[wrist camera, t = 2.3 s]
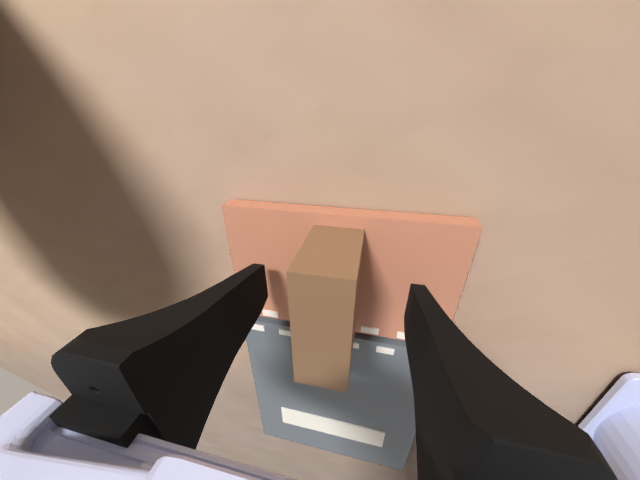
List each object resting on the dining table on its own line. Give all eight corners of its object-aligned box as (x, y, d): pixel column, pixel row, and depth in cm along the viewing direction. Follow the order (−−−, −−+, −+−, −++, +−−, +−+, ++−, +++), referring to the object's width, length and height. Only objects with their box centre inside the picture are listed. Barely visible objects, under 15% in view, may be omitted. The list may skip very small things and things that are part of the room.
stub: (475, 218, 11) (533, 285, 7) (439, 333, 15) (464, 428, 10) (232, 199, 14) (160, 241, 9) (249, 302, 17) (202, 368, 12)
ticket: (438, 336, 15) (442, 355, 14) (402, 453, 21) (403, 472, 20) (250, 305, 17) (241, 319, 16) (269, 419, 24) (264, 435, 22)
